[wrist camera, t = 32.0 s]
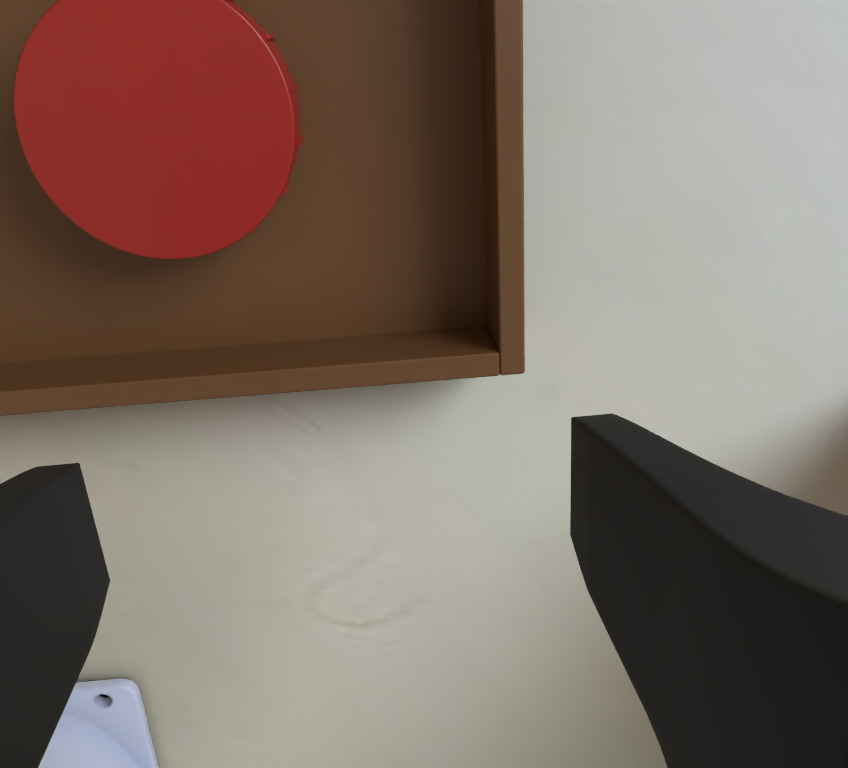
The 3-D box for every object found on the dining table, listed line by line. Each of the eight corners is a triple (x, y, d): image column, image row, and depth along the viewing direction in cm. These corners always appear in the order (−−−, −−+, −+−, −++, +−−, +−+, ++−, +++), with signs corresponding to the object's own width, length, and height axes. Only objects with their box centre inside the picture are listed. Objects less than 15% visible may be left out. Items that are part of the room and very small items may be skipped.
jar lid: (288, -28, 17) (280, -36, 16) (313, 235, 20) (309, 254, 18) (17, -18, 17) (-22, -25, 15) (73, 248, 19) (45, 268, 17)
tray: (-78, 384, 21) (-132, 426, 18) (-260, -181, 16) (-363, -219, 14) (507, 339, 22) (525, 374, 19) (498, -213, 17) (522, -254, 14)
